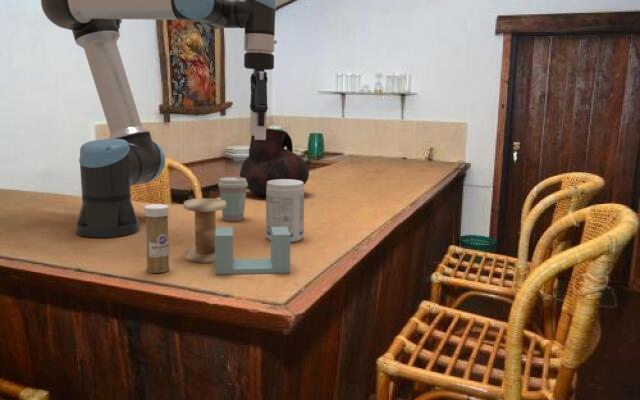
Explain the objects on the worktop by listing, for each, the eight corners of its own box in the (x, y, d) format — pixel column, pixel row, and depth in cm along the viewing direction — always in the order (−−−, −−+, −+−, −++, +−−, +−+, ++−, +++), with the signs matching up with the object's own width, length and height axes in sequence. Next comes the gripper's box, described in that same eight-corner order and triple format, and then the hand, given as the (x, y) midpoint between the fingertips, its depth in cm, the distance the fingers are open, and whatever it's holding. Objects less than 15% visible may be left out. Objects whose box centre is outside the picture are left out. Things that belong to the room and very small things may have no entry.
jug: (320, 194, 202) (322, 128, 197) (281, 204, 181) (282, 130, 176) (268, 187, 215) (268, 125, 210) (225, 196, 194) (225, 126, 189)
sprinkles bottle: (157, 275, 105) (155, 208, 103) (141, 271, 108) (139, 205, 105) (174, 269, 109) (173, 205, 107) (158, 265, 111) (156, 202, 109)
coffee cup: (242, 223, 151) (242, 181, 149) (213, 221, 153) (213, 180, 151) (251, 217, 160) (251, 177, 158) (224, 215, 161) (224, 176, 159)
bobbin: (183, 263, 114) (181, 206, 111) (186, 251, 122) (185, 198, 120) (225, 262, 115) (225, 205, 113) (226, 250, 124) (226, 198, 121)
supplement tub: (285, 232, 143) (286, 177, 140) (311, 239, 136) (312, 182, 134) (258, 238, 136) (258, 181, 133) (283, 245, 130) (284, 185, 127)
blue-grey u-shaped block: (215, 274, 107) (214, 235, 105) (216, 264, 114) (216, 227, 112) (289, 272, 109) (290, 234, 108) (286, 262, 116) (287, 226, 115)
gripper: (280, 49, 123) (278, 141, 127) (268, 57, 147) (266, 134, 151) (248, 47, 122) (246, 141, 126) (241, 55, 146) (239, 133, 150)
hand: (257, 137), depth 138 cm, fingers open, 13 cm apart
